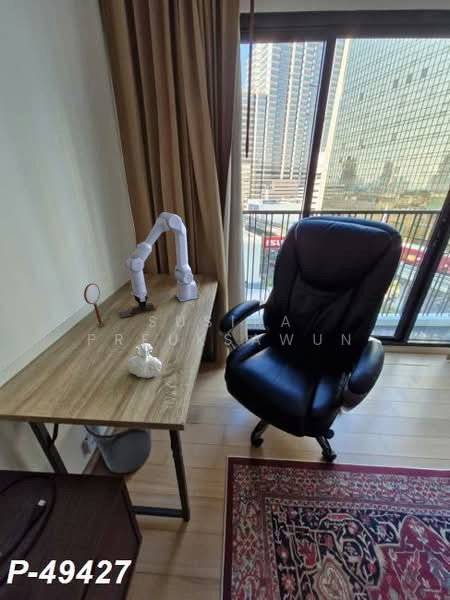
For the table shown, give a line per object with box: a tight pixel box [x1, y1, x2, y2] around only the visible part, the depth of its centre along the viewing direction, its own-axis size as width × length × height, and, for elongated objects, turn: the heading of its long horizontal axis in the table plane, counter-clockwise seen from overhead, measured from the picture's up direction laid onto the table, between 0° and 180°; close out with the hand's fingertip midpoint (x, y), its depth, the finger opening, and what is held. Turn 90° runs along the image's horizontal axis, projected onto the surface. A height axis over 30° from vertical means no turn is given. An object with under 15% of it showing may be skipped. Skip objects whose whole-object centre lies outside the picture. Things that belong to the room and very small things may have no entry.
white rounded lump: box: [127, 342, 163, 379], centre depth 83 cm, size 12×8×11 cm
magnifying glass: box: [83, 283, 103, 327], centre depth 106 cm, size 9×2×20 cm, turn 169°
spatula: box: [120, 301, 155, 319], centre depth 120 cm, size 15×5×3 cm, turn 116°
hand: (142, 308), depth 121 cm, fingers closed on spatula, 2 cm apart
